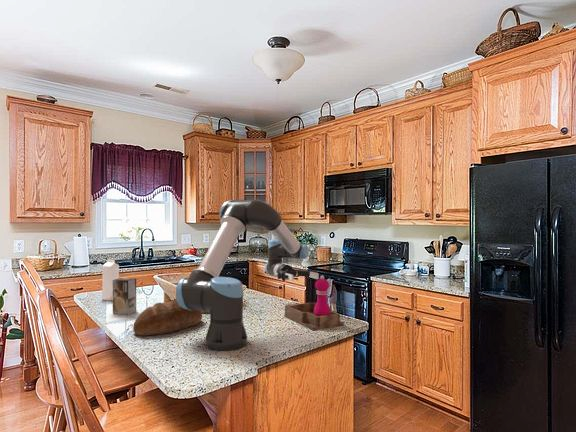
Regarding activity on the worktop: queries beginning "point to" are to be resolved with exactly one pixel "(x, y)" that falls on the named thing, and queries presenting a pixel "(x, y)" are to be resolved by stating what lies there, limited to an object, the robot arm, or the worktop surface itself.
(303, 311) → the keyhole cradle
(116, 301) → the coffee box
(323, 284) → the pepper mill
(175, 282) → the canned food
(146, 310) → the bread
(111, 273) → the milk
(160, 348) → the worktop surface
